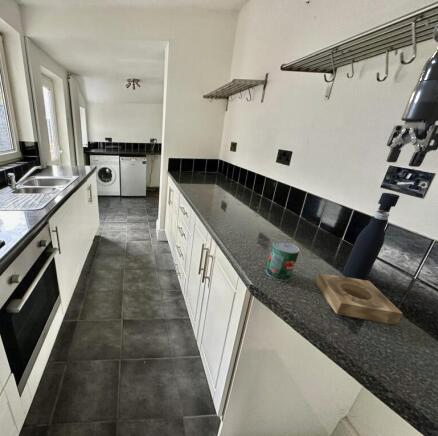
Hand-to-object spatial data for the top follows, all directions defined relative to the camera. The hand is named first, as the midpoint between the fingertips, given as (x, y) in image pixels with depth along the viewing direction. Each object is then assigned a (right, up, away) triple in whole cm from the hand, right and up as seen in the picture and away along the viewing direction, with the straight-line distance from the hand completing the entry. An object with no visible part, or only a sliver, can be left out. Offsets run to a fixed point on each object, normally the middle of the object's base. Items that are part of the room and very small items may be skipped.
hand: (401, 164), depth 66 cm
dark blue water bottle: (-1, -36, +15) cm, 39 cm away
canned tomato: (-27, -35, +15) cm, 47 cm away
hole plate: (-12, -41, +3) cm, 42 cm away
